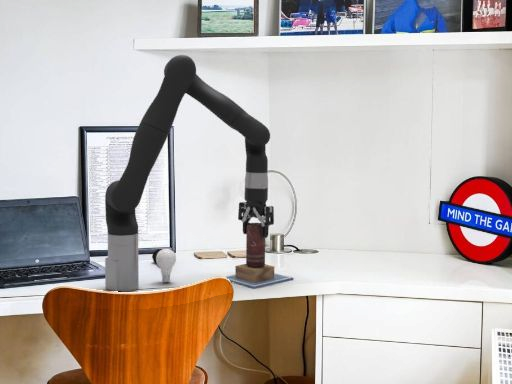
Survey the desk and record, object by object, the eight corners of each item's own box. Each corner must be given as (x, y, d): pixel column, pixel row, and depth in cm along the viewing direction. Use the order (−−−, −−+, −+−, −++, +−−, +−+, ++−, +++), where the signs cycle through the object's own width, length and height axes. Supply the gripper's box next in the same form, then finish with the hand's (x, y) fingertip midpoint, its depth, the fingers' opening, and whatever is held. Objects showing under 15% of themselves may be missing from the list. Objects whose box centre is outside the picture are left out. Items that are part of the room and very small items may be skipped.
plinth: (254, 282, 213) (254, 270, 213) (235, 277, 219) (235, 265, 219) (274, 278, 219) (274, 266, 219) (255, 273, 226) (255, 262, 225)
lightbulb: (161, 286, 210) (161, 251, 209) (152, 282, 215) (152, 248, 214) (179, 283, 213) (179, 249, 212) (170, 279, 219) (170, 246, 217)
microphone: (173, 282, 228) (163, 263, 246) (179, 267, 227) (168, 248, 245) (158, 278, 226) (149, 259, 244) (164, 263, 225) (154, 244, 243)
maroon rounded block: (263, 268, 216) (264, 225, 214) (244, 267, 217) (245, 224, 215) (267, 264, 221) (267, 222, 220) (248, 263, 223) (248, 221, 221)
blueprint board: (254, 288, 208) (254, 286, 208) (220, 279, 220) (220, 277, 219) (293, 279, 221) (293, 277, 220) (259, 271, 232) (259, 269, 232)
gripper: (232, 185, 218) (232, 234, 220) (263, 188, 208) (262, 240, 210) (249, 183, 224) (248, 231, 225) (280, 187, 213) (279, 237, 215)
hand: (255, 235), depth 218 cm, fingers open, 8 cm apart
